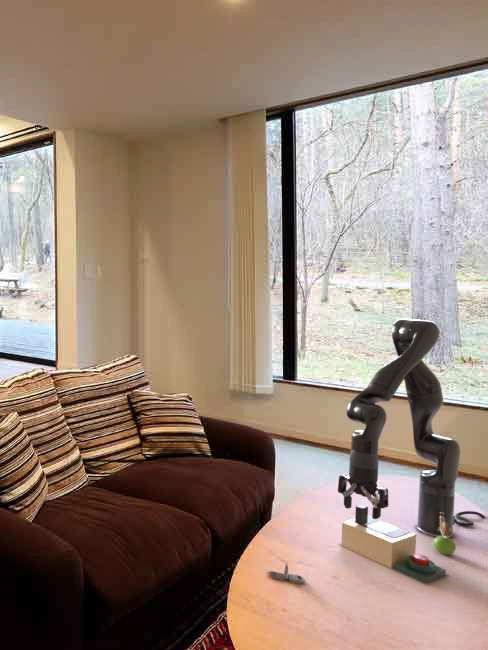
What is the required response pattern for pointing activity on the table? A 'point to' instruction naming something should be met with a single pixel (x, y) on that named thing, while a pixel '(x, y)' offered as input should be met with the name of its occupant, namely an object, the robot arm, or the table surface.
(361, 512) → the slider
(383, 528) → the long cream box
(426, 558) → the button
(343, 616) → the table surface
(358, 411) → the robot arm
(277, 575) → the grey elongated piece
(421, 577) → the control block
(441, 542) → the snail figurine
